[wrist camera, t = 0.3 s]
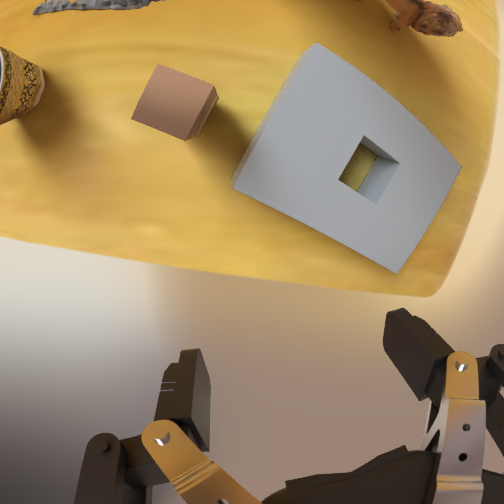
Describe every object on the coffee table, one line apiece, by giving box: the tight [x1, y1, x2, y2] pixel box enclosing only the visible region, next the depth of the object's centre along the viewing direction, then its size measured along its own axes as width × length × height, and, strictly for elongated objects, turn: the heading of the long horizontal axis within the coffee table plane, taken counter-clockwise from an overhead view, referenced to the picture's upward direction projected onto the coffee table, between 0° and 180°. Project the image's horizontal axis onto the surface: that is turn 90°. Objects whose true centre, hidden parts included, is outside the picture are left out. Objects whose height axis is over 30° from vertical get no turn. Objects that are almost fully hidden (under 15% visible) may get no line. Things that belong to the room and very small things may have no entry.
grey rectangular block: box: [232, 42, 462, 274], centre depth 27 cm, size 16×22×5 cm
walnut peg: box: [131, 64, 219, 141], centre depth 20 cm, size 4×4×12 cm
